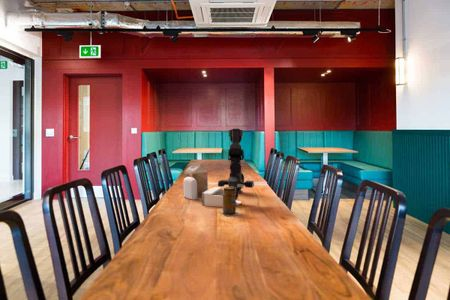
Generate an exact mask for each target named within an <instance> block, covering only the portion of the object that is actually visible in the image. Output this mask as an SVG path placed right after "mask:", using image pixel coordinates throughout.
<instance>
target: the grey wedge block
mask: <svg viewBox="0 0 450 300" xmlns="http://www.w3.org/2000/svg"><path fill="white" fill-rule="evenodd" d="M223 194H224V188H222V186H213V187H210V188H208V190H207V191H205V192H203V193H202V195H201V206H207V207H220V208H223Z"/></svg>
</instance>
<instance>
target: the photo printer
mask: <svg viewBox="0 0 450 300" xmlns="http://www.w3.org/2000/svg"><path fill="white" fill-rule="evenodd" d="M182 182H183V184H182V185H183V197H184V198H185V197H186V199H190V200H193V201H194V200H197V199H198V196H197V181H196V180H195V179H194V178H192V177H186V178H184V177H183V181H182Z"/></svg>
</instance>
